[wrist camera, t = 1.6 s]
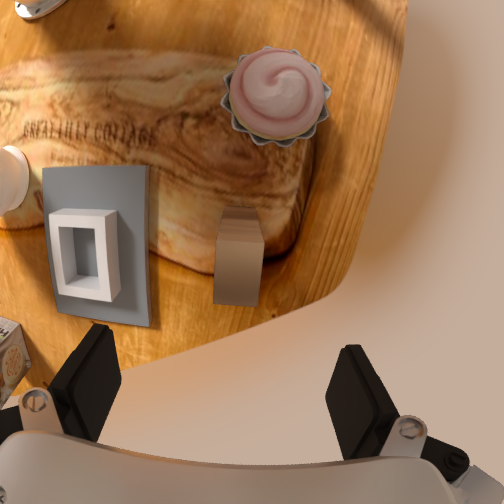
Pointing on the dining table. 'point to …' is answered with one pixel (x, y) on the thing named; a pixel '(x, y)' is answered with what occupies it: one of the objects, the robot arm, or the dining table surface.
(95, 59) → the dining table surface
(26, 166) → the jar
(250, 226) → the wooden plank
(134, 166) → the grey socket base
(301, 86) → the cupcake
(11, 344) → the coffee box
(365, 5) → the dining table surface
